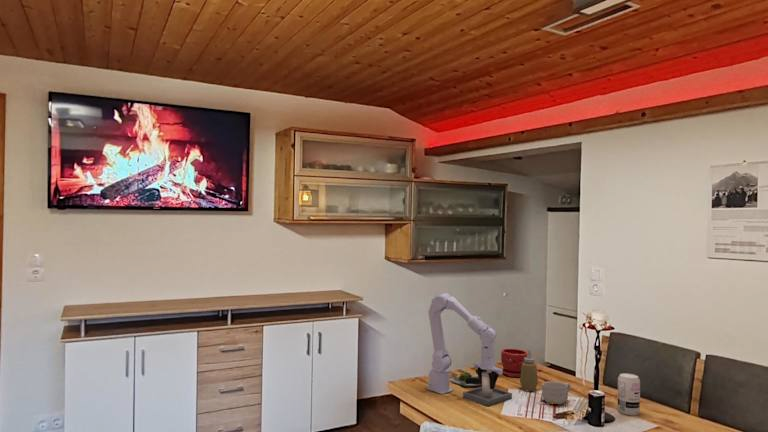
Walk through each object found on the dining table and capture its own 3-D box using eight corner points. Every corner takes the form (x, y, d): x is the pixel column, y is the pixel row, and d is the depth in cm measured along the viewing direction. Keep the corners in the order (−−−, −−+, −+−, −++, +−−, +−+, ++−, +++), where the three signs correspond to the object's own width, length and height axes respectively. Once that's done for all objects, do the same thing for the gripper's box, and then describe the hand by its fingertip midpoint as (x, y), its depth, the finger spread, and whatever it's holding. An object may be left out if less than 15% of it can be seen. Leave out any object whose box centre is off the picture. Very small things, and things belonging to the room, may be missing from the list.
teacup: (550, 408, 223) (550, 388, 223) (536, 399, 233) (536, 381, 233) (579, 405, 226) (579, 386, 226) (564, 397, 237) (564, 379, 237)
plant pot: (523, 379, 262) (523, 355, 262) (497, 375, 269) (497, 351, 269) (530, 373, 273) (531, 350, 273) (505, 369, 280) (506, 346, 280)
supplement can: (620, 407, 224) (621, 371, 224) (642, 412, 219) (642, 375, 219) (615, 412, 218) (615, 375, 218) (636, 417, 213) (637, 379, 213)
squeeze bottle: (536, 387, 250) (536, 348, 250) (539, 392, 242) (539, 353, 242) (518, 386, 251) (518, 348, 251) (521, 392, 243) (521, 352, 243)
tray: (463, 398, 234) (463, 392, 234) (486, 390, 244) (486, 385, 244) (488, 406, 223) (488, 400, 223) (511, 398, 233) (511, 393, 233)
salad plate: (439, 380, 260) (439, 371, 260) (464, 374, 271) (464, 365, 271) (469, 391, 245) (469, 380, 245) (494, 384, 256) (494, 374, 256)
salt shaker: (479, 393, 234) (479, 372, 234) (486, 391, 237) (486, 370, 237) (487, 396, 230) (487, 375, 230) (495, 394, 233) (494, 373, 233)
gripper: (469, 354, 237) (468, 384, 236) (495, 360, 226) (495, 393, 225) (479, 351, 241) (479, 381, 241) (505, 358, 230) (505, 389, 230)
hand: (487, 387), depth 234 cm, fingers closed on salt shaker, 5 cm apart
